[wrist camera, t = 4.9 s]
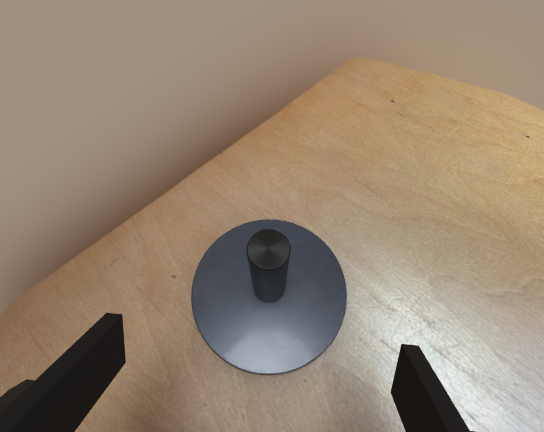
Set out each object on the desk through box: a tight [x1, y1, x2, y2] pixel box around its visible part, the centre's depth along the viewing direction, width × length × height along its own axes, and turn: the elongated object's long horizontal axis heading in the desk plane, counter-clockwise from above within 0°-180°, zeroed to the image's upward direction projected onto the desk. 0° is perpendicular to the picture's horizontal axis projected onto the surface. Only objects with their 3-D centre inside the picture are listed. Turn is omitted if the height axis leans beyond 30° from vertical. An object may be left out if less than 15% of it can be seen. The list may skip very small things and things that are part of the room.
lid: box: [191, 220, 347, 375], centre depth 23 cm, size 14×14×10 cm
